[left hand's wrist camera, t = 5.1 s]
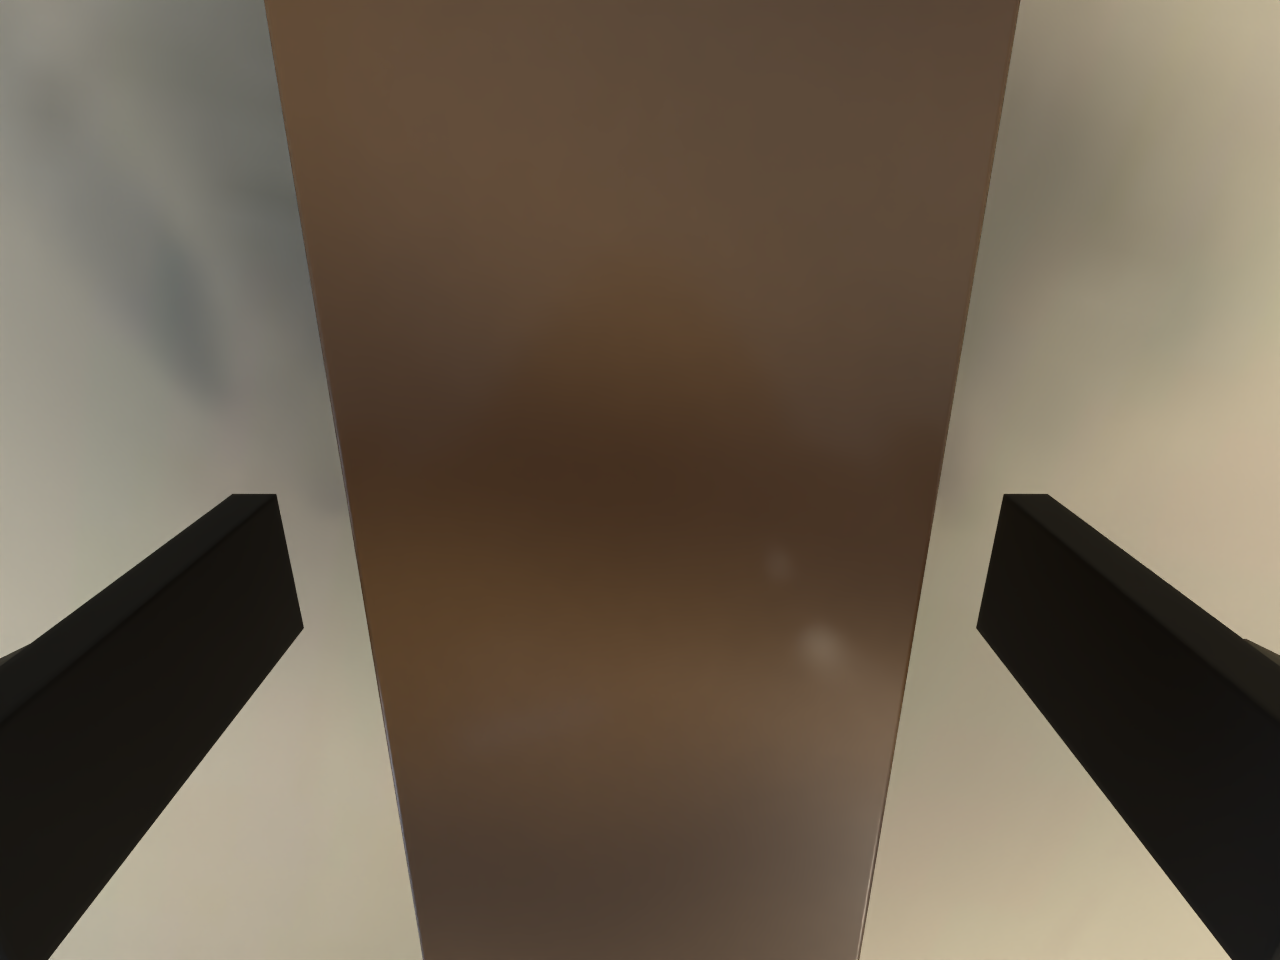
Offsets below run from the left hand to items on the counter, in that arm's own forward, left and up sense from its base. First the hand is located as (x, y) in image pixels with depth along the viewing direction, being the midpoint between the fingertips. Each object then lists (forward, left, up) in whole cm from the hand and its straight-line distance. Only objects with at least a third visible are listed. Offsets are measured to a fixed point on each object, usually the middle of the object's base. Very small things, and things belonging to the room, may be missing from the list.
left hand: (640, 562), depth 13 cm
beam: (+19, -9, -2) cm, 21 cm away
